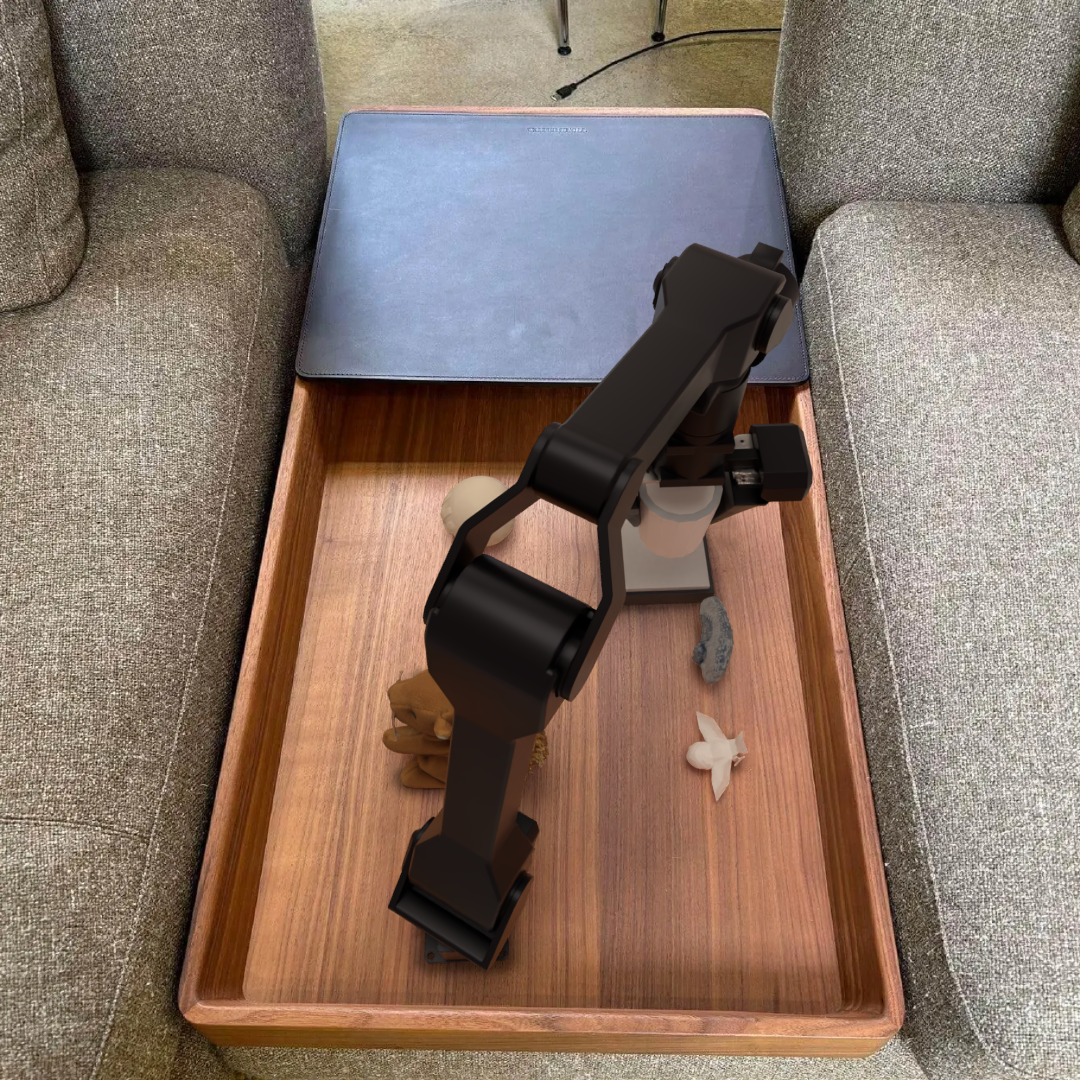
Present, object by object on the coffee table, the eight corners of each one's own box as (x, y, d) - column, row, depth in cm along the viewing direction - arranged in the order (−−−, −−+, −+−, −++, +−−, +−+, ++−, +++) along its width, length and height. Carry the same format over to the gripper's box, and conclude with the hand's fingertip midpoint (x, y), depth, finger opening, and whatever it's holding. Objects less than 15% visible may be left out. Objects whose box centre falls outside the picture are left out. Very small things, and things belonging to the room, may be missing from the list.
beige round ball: (443, 503, 90) (436, 465, 85) (515, 499, 91) (513, 460, 85) (443, 561, 87) (436, 525, 81) (518, 556, 87) (516, 520, 81)
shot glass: (710, 500, 79) (723, 454, 73) (710, 567, 76) (723, 524, 70) (633, 494, 80) (639, 448, 74) (629, 561, 76) (635, 518, 70)
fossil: (688, 610, 84) (696, 585, 80) (725, 612, 84) (735, 587, 80) (689, 692, 80) (697, 671, 75) (728, 695, 80) (738, 674, 75)
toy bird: (670, 716, 78) (696, 695, 74) (716, 716, 80) (743, 696, 76) (690, 807, 74) (719, 790, 70) (737, 805, 76) (768, 789, 72)
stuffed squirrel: (409, 675, 81) (386, 611, 70) (562, 700, 79) (564, 640, 68) (380, 783, 76) (351, 733, 65) (542, 812, 74) (541, 767, 63)
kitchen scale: (711, 602, 84) (716, 590, 82) (617, 605, 84) (619, 593, 82) (690, 457, 93) (693, 442, 91) (604, 460, 93) (605, 445, 91)
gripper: (808, 317, 67) (765, 442, 81) (562, 325, 67) (560, 448, 80) (838, 435, 61) (786, 548, 75) (569, 444, 61) (565, 555, 75)
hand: (672, 520), depth 76 cm, fingers closed on shot glass, 6 cm apart
